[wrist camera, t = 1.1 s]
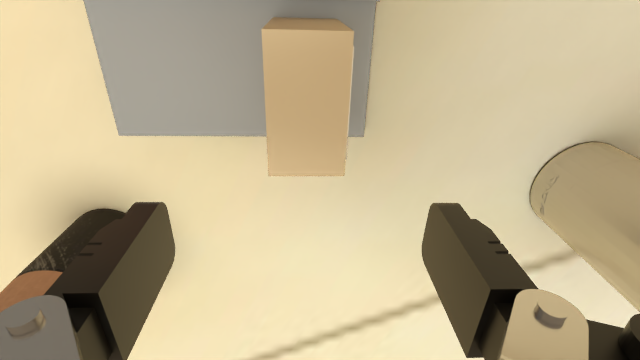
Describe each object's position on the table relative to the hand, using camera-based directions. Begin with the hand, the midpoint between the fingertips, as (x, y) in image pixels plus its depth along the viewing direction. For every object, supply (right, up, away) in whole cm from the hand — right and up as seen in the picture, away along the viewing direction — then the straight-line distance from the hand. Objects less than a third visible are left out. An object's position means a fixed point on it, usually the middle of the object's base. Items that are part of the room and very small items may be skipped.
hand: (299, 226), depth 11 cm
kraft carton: (-1, +10, +16) cm, 19 cm away
